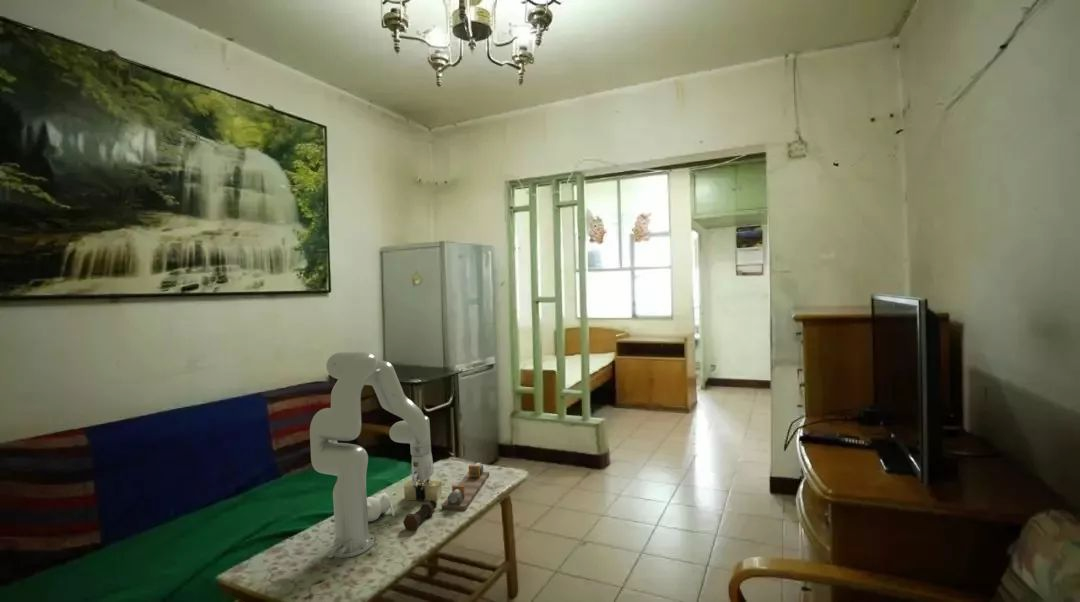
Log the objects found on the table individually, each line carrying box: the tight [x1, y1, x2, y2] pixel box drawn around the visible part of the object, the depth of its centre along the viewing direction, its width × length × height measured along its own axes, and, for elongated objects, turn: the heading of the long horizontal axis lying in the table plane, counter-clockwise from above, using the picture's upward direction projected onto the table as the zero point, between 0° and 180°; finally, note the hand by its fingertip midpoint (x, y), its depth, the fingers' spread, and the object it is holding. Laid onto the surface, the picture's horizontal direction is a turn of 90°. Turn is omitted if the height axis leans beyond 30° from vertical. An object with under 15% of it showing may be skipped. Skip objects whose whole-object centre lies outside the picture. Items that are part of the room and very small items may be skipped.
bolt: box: [402, 500, 438, 532], centre depth 154 cm, size 6×5×15 cm
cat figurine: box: [367, 491, 395, 523], centre depth 157 cm, size 9×11×12 cm
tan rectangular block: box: [403, 480, 443, 501], centre depth 171 cm, size 4×13×6 cm, turn 81°
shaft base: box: [441, 462, 490, 511], centre depth 175 cm, size 30×9×6 cm, turn 171°
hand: (423, 496), depth 171 cm, fingers closed on tan rectangular block, 4 cm apart
